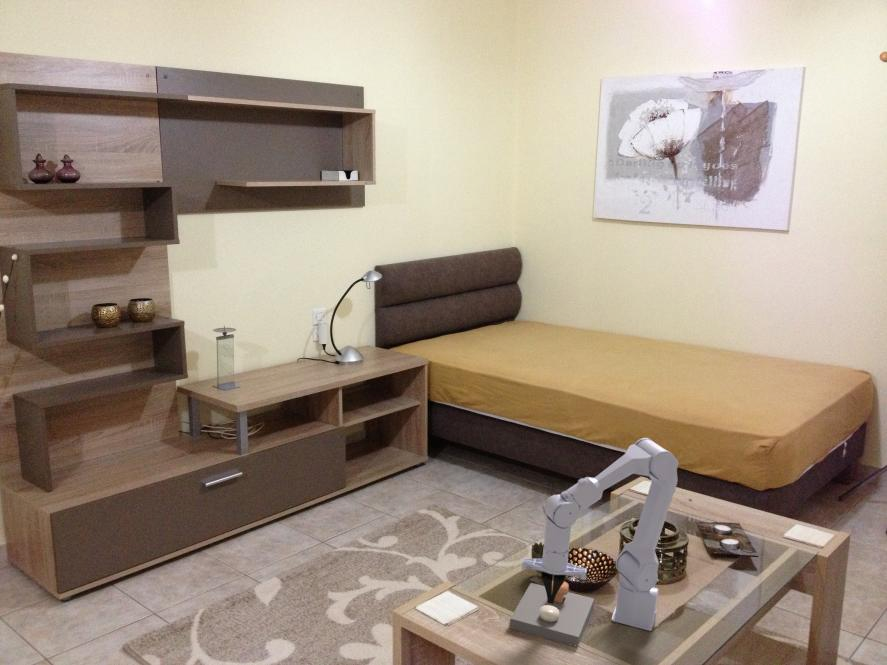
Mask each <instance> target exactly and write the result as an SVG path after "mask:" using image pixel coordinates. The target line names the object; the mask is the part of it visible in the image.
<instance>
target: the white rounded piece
mask: <svg viewBox="0 0 887 665" xmlns="http://www.w3.org/2000/svg"><path fill="white" fill-rule="evenodd" d="M539 616H540V618H541V619H542V620H544V621H547V622H552V623H554V622H555V621H557V620H558V618H559V610H558V609H557V608H556V607H554V606H550V605H545V606H542V607H541V608H540V615H539Z"/></svg>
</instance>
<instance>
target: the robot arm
mask: <svg viewBox="0 0 887 665" xmlns="http://www.w3.org/2000/svg"><path fill="white" fill-rule="evenodd" d="M679 463H680V462H679V461H678V460H677V458H676V457H675V455H674V454H673V453H672V452H671V451H669V450H667V449H665V448H664V447H662V446H661V445H659V444H658V443H656V442H654V441H653V440H652V439H651V438H650V437H642V438H639V439H638V440H637V441H635V443H632V444H631V445H629V446H628V448H627V450H626V452H625V453H624V454H623V455H622V456H620V457H619V458H618V459H616V461H614V462H613V463H612V464H610V465H609V466H608V467H606V468H605V469H604V470H603V471H602V472H600V473H598V474H597V475H596V476H595V477H590V476H586V477H584V478H583V477H582V478H581V477H580V479H578V480H577V483H575V484H574V485H572V486H571V487H569V488H568V489H566V490H564V491H562V492H561V493H560V494H553V495H551V496H549V497H548V498H547V499H546V500H545V502H544V504H542V512H543V513H544V515H545V528H544V538H543V544H544V548H543V559H532V558H528V557H527V558H526V557H524V558H522V563H521V569H522V570H524V571H526V570H532V571H535V570H537V571H542V575H541V578H540V579H541V581H542V584H543V586H545V589H546V593H547V601H548V602H547V603H551V604H554V599H555V597H556V594H557V592H558V590H559V589H560V587H561V586H562V585H563V583H564V582H565V580H566V579H565V578H566V576H568V577H575V578H580V580H583V581H586V579H587V578H586V577H587V570H588V569H587V567H582V566H578V565H576V564H572V563H569V561H568V560H569V552H570V543H571V542H570V541H571V534H572V533H571V532H572V525H575V523H576V522H577V520H578V517H579V516H580V515H581V514H582V512H583V511H585V510H586V509H588V508H589V507H591V506H592V505H593V504H595V503H596V502H598V501H599V500H601V499H602V497H603V492H604V491H605V490H606V489H609V488H610V487H612V486H614V485H615V484H618V483H619V482H621V481H622V480H624V479H626V478H628V477H629V476H631V475H632V474H633V475H639V476H645V477H649V478H650V480H651V483H650V486H649V489H648V493H647V495H646V498H645V502H644V504H643V506H642V511H641V514H640V517H639V520H638V523H637V526H636V530H635V533H634V535H633V539H632V541H630V542H628V543H625V544H624V546H623V549H622V551H621V552H620V553H619V554H618V556H617V557H616V560H615V568H616V570H617V571H618V572H619V576H618V578H619V581H618V582H619V583H618V590H617V598H616V605H615V607H614V609H613V613H612V616H611V619H610V621H611V622H614V623H619V624H623V625H627V626H630V627H634V628H638V629H642V630H646V631H653V626H654V622H655V620H656V619H657V613H658V612H657V605H658V599H659V591H660V590H659V588H657V587H655V586H656V585H657V582H658V577H659V576H658V575H659V574H658V569H659V566H660V563H659V559H658V556H657V554H656V548H657V545H658V542H659V540H660V537H661V535H662V534H661V533H662V531H663V527H664V524H665V521H666V518H667V516H668V512H669V509H670V506H671V504H672V503H671V502H672V500H673V496H674V494H675V491H676V488H677V485H678V467H679ZM537 571H536V572H537ZM552 581H553V591H552Z"/></svg>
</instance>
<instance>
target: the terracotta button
mask: <svg viewBox="0 0 887 665" xmlns="http://www.w3.org/2000/svg"><path fill="white" fill-rule="evenodd" d="M569 586H570V585H569V583H568V582H566V581H564V583H563V585H562V586H561V587H560V589H559V590H558V592H557V594H556V597H555V599H554V601H555V602H559V603H562V601H563V599H564V595H566V594H567V593H568V592H569V588H570V587H569ZM552 591H553V580H552Z"/></svg>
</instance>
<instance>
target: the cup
mask: <svg viewBox="0 0 887 665" xmlns="http://www.w3.org/2000/svg"><path fill="white" fill-rule="evenodd" d="M543 548H544V543H542V542H541V541H540V542H539V543H538V542H534V544H531V550H530V551H531V553H530V554H531V559H543ZM534 571H535V575H536V576H537V578H539V579H541V575H542V571H537V570H534Z"/></svg>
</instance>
